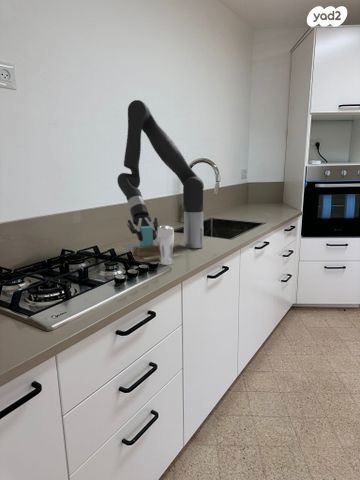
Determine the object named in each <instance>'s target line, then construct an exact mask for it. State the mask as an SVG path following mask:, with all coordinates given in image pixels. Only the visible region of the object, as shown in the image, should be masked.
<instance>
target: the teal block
mask: <svg viewBox="0 0 360 480" xmlns="http://www.w3.org/2000/svg"><path fill="white" fill-rule="evenodd" d="M153 227H154V226H153ZM153 227H151V226H141V227H140V232H141V234H142V238H143V240H142V241H140V240H139V244H140V248H142V247H151V246H153V244H154V240H153Z"/></svg>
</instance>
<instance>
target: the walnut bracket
mask: <svg viewBox="0 0 360 480" xmlns="http://www.w3.org/2000/svg"><path fill="white" fill-rule="evenodd" d="M127 252H128V251H127ZM127 252H126V251H125V252H124V254H126V253H127ZM131 252H132V254H133V256H134V259H135V260H136V261H142V262H148V263H153V262H155V263H156V262H159V248H158V245H155V244H154V243H153V246H151V247H142V248H139V247H137V246H133V250H132V251H131Z"/></svg>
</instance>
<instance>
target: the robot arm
mask: <svg viewBox="0 0 360 480" xmlns="http://www.w3.org/2000/svg"><path fill="white" fill-rule="evenodd" d="M142 132H143V133H144V134H145V135H146V137H147V139H148V141H149V143H150V144H151V146H152V148H153V150H154V152H155V153H156V154H157V155H158V157H159V158H160V159H161V161H162V162H163V163H164V165H166V166H167V167H168V168H169V169H170V170H171V171H172V172H173V173H174V174H175V175H176V176H177V178H178V180H179V181H180V182H181V184H182V193H183V194H182V198H183V199H182V203H183V247H184V248H187V249H201V248H202V249H203V247H204V188H205V187H204V186H205V185H204V182H203V180H202V178H201V177H199V176H198V175H197V173H195V172H194V170H193V169H192V168H191V167H190V166H189V164H188V163H187V161H186V159H185V157H184V155H183V154H182V152H181V151H180V149H179V148H178V147H177V145H176V144H175V142H174V141H173V140H172V138H171V137H170V136H169V135H168V134H167V132H166V131H164V129H163V128H162V127H161V126H160V125H159V124H158V123H157V120H156V119H155V117H154V116H153V115H152V112H151V110H150V109H149V107H148V105H147V104H146V103H145V102H143V101H142V100H139V99H136V100H135V99H134V100H132V101H131V102H130V103H129V104H128V107H127V135H126V136H127V137H126V146H125V152H124V158H123V167H124V168H126V169H129V170H130V173H128V172H121V173H120V174H119V175H118V176H117V185H118V187H119V189H120V191H121V192H122V193H123V195H124V196H125V198H126V201H127V206H128V210H129V213H130V215H131V219H132V220H131V219H128V220H127V222H126V226H127V227H128V229H129V231H130V233H131V234H132V235H134V234H135V235H136V237H137V240H138V241H139V242H140V241H142V240H143V238H142V234H141V232H140V227H141V226H151V227H153V241H155V240H157V227H158V226H159V222H158V218H157V217H154V218H152V217H151V216H150V214H149V211H148V207H147V205H146V203H145V200H144V198H143V195H142V193H141V191H140V189H139V187H140V185H141V175H140V168H139V167H140V165H139V164H140V160H141V148H142V145H141V144H142V141H141V139H142ZM134 225H135V226H136V228H135V226H134Z"/></svg>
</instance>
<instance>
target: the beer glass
mask: <svg viewBox="0 0 360 480" xmlns="http://www.w3.org/2000/svg"><path fill="white" fill-rule="evenodd" d="M174 229H175V228H174V226H173V225H158V227H157V231H156V235H157V237H156V242H157V243H156V244H157V246H158V248H159V261H158V264H159V265H160V264H162V265H161V266H170V265H173V264H174V257H173V251H174V245H175V230H174Z"/></svg>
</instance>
